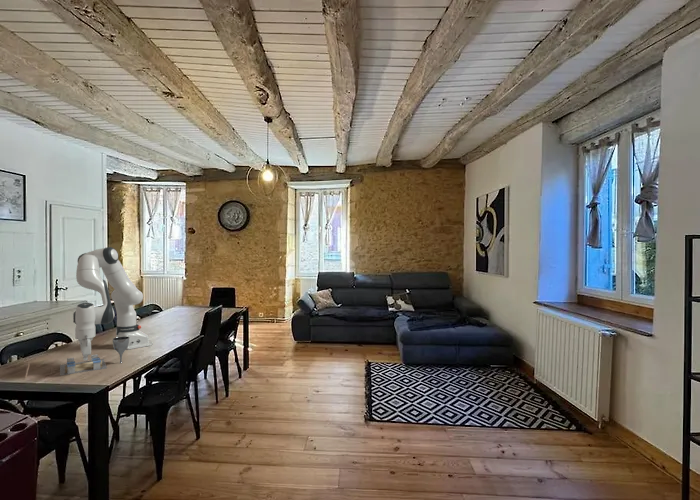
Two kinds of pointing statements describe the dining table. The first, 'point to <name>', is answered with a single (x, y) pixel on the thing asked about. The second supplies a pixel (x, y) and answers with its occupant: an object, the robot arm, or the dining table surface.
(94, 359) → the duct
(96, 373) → the dining table surface
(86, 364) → the bar
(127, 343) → the grey funnel
